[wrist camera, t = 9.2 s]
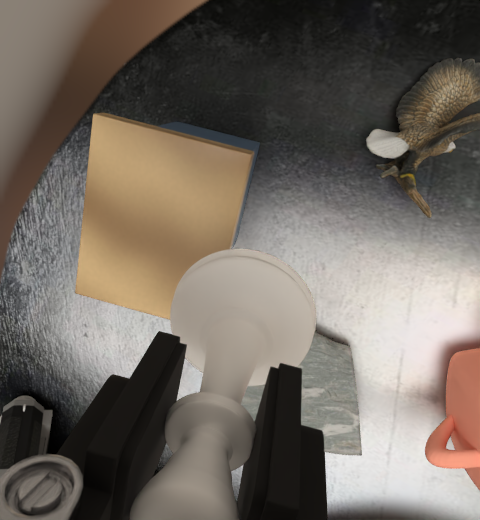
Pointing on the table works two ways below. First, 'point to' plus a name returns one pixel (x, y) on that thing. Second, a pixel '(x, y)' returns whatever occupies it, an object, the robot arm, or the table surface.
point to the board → (154, 210)
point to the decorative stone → (324, 396)
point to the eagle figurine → (428, 122)
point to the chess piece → (224, 376)
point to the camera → (23, 431)
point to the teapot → (460, 418)
